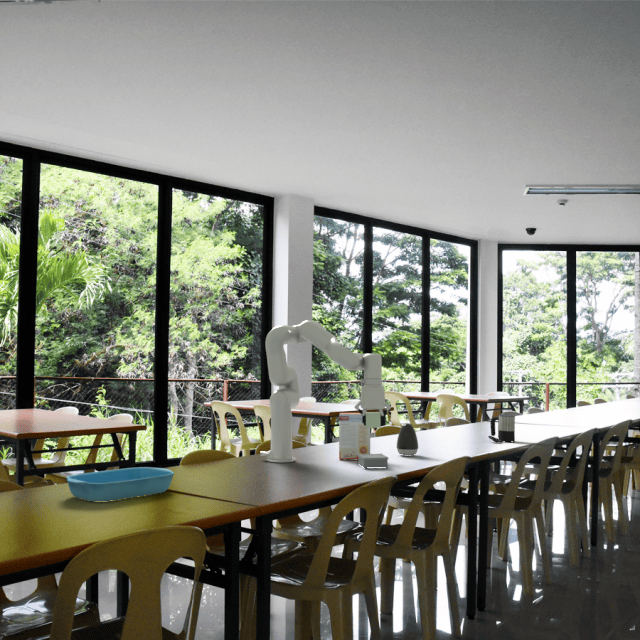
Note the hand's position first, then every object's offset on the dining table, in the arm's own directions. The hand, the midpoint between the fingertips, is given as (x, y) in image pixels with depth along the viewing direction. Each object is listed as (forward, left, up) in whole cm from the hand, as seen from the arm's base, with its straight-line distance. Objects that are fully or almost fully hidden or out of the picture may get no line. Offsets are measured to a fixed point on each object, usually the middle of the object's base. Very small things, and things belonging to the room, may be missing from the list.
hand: (372, 424), depth 290 cm
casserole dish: (-90, -59, -18) cm, 109 cm away
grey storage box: (0, 0, -18) cm, 18 cm away
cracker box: (-6, +20, -18) cm, 27 cm away
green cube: (0, 0, -1) cm, 1 cm away
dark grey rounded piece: (+20, +33, -18) cm, 43 cm away
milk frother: (+81, +87, -18) cm, 120 cm away
